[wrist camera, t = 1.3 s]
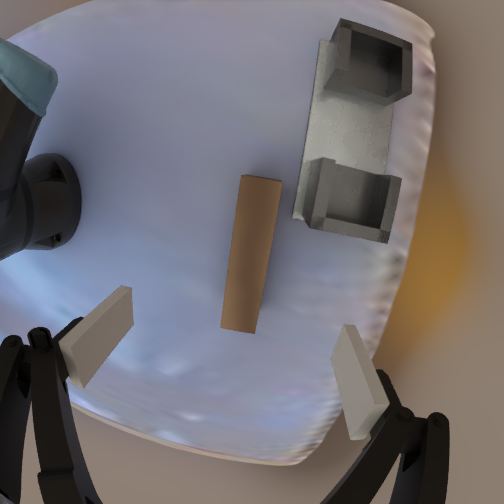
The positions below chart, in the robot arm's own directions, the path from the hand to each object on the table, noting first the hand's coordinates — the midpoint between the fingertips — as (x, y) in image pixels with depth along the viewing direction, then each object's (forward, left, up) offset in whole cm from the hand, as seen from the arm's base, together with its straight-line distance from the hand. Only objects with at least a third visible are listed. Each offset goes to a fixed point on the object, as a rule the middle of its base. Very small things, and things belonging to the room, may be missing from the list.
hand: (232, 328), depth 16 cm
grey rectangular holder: (+9, +16, -19) cm, 26 cm away
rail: (0, 0, -19) cm, 19 cm away
